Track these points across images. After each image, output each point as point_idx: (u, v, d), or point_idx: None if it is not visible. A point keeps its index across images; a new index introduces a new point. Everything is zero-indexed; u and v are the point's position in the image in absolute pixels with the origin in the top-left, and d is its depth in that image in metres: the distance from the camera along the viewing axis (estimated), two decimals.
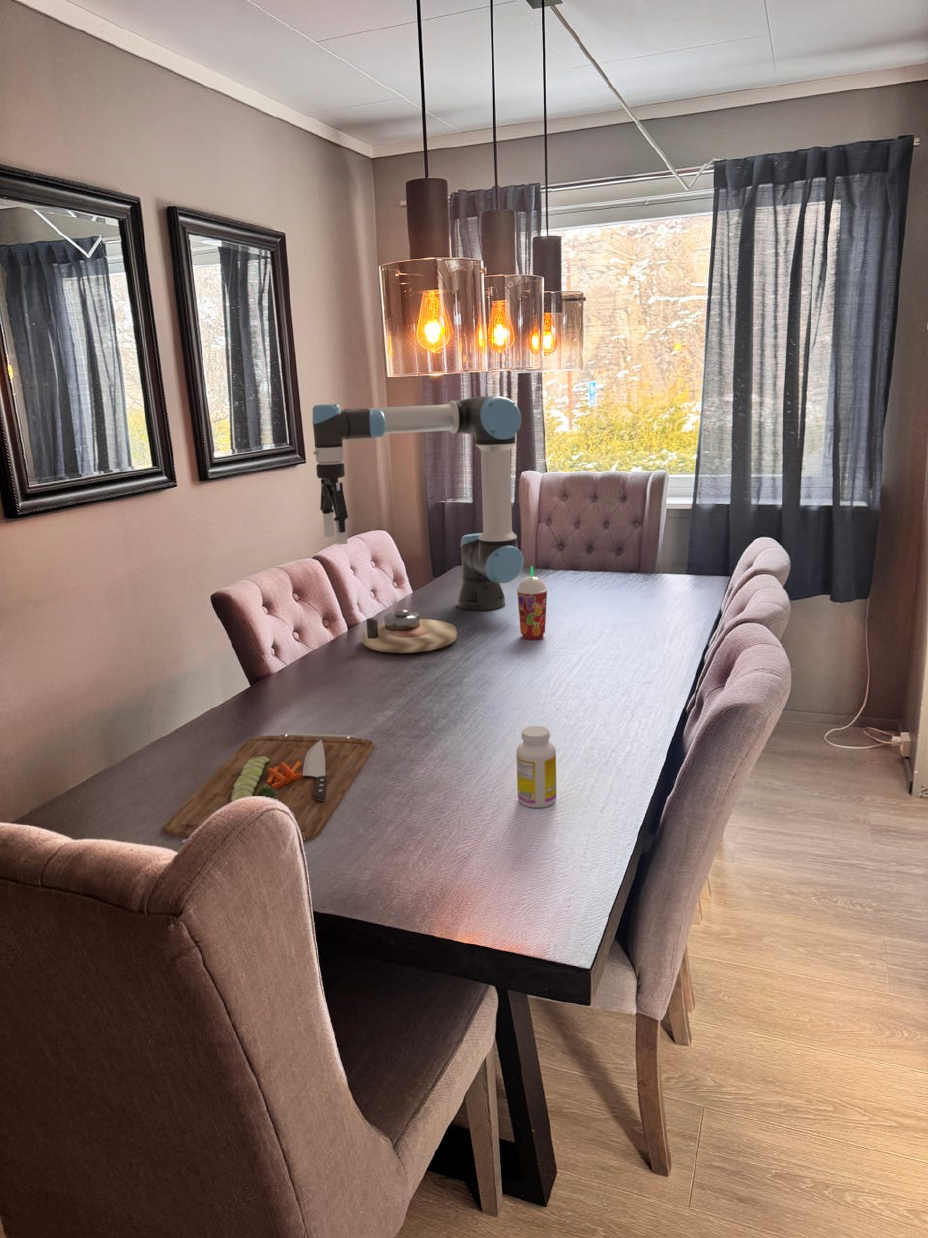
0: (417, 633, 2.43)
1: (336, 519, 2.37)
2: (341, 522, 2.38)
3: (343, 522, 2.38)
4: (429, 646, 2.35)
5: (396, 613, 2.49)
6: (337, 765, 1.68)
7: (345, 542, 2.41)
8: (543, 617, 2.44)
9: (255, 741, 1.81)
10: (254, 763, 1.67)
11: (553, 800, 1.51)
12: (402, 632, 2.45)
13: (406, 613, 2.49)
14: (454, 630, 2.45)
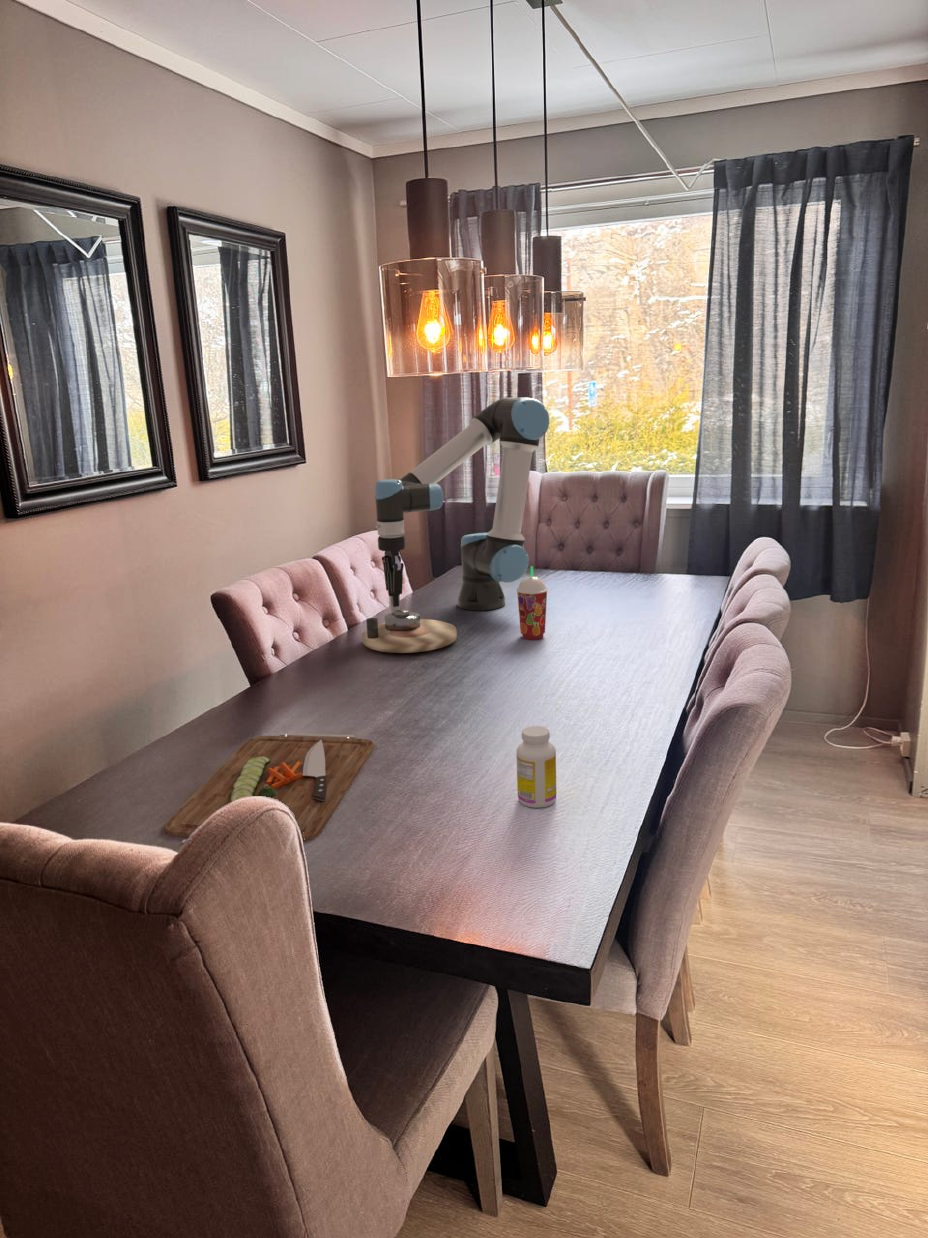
0: (417, 633, 2.43)
1: (390, 595, 2.52)
2: (395, 597, 2.52)
3: (397, 597, 2.52)
4: (429, 646, 2.35)
5: (396, 613, 2.48)
6: (337, 765, 1.68)
7: None
8: (543, 617, 2.44)
9: (255, 741, 1.81)
10: (254, 763, 1.67)
11: (553, 800, 1.51)
12: (402, 632, 2.45)
13: (406, 613, 2.49)
14: (454, 630, 2.45)
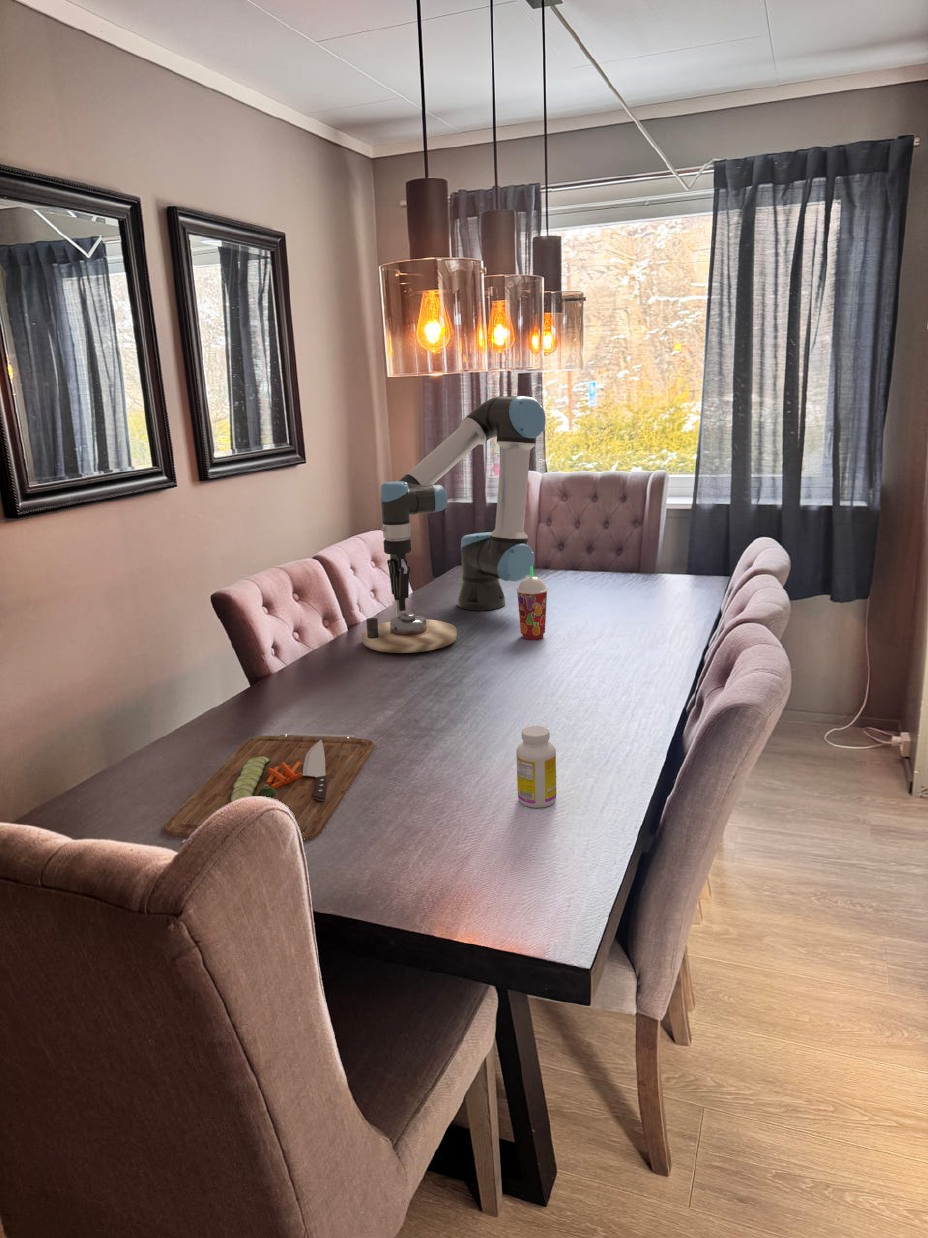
0: None
1: (397, 599, 2.48)
2: (401, 601, 2.48)
3: (403, 601, 2.48)
4: (429, 646, 2.35)
5: (402, 617, 2.44)
6: (337, 765, 1.68)
7: None
8: (543, 617, 2.44)
9: (255, 741, 1.81)
10: (254, 763, 1.67)
11: (553, 800, 1.51)
12: None
13: (412, 617, 2.44)
14: (454, 630, 2.45)
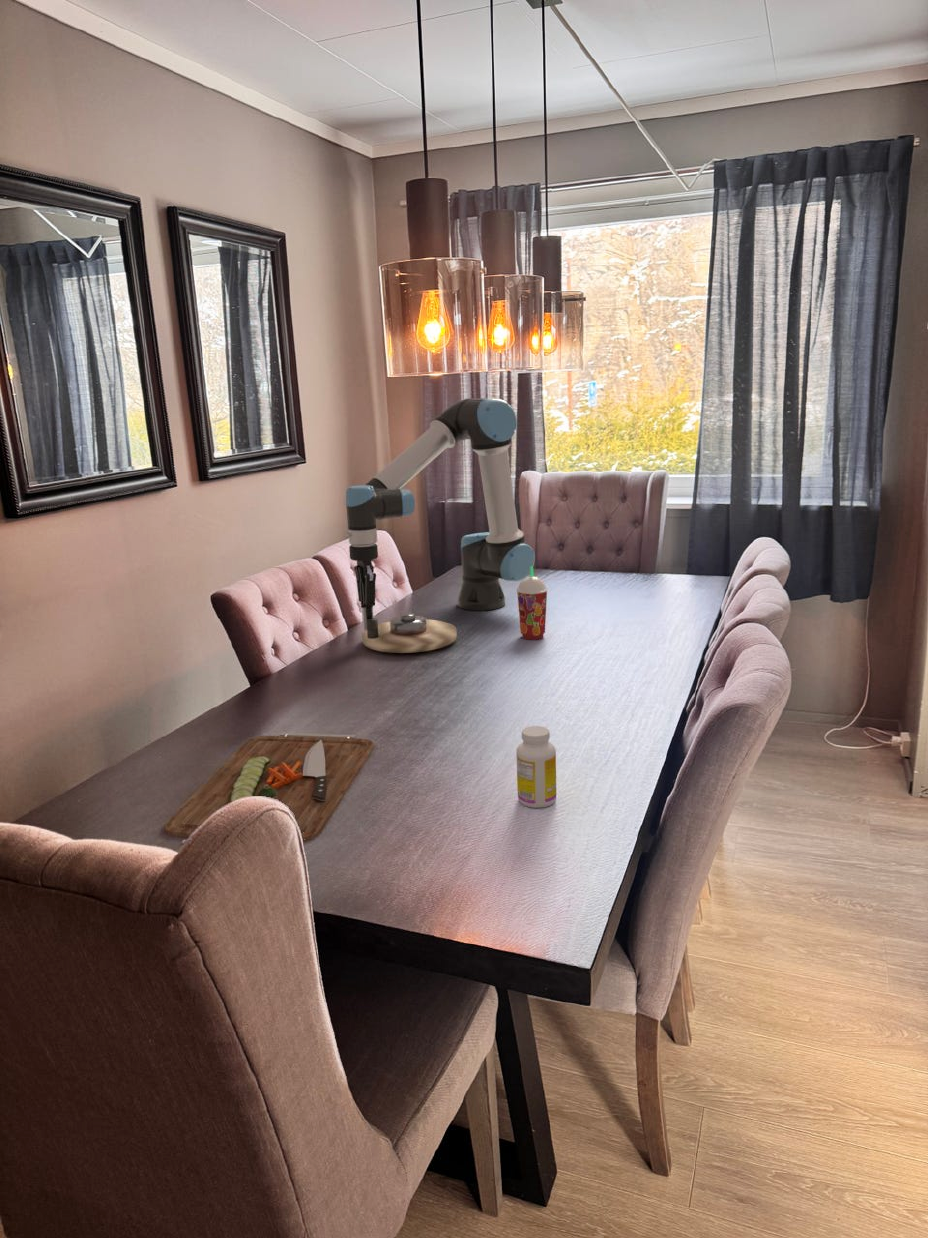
0: None
1: (363, 607, 2.40)
2: (368, 609, 2.40)
3: (370, 609, 2.41)
4: (429, 646, 2.35)
5: (402, 617, 2.44)
6: (337, 765, 1.68)
7: None
8: (543, 617, 2.44)
9: (254, 741, 1.81)
10: (254, 763, 1.67)
11: (553, 800, 1.51)
12: None
13: (412, 617, 2.44)
14: (454, 630, 2.45)
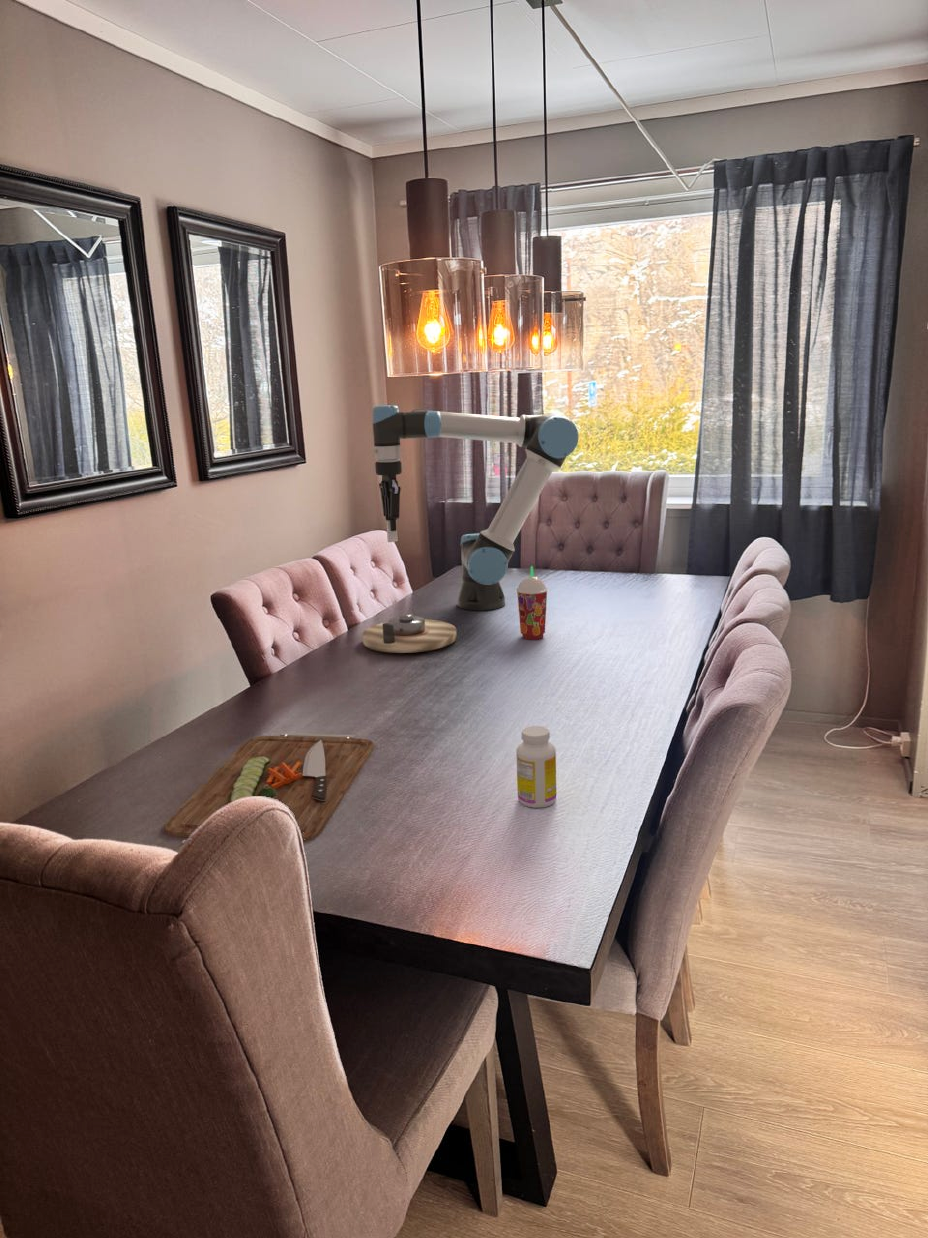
0: None
1: (388, 520, 2.58)
2: (393, 521, 2.59)
3: (394, 521, 2.59)
4: (452, 639, 2.41)
5: (405, 618, 2.43)
6: (337, 765, 1.68)
7: (396, 540, 2.62)
8: (543, 617, 2.44)
9: (254, 741, 1.81)
10: (254, 763, 1.67)
11: (553, 800, 1.51)
12: None
13: (413, 617, 2.45)
14: (445, 622, 2.53)
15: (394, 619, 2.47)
